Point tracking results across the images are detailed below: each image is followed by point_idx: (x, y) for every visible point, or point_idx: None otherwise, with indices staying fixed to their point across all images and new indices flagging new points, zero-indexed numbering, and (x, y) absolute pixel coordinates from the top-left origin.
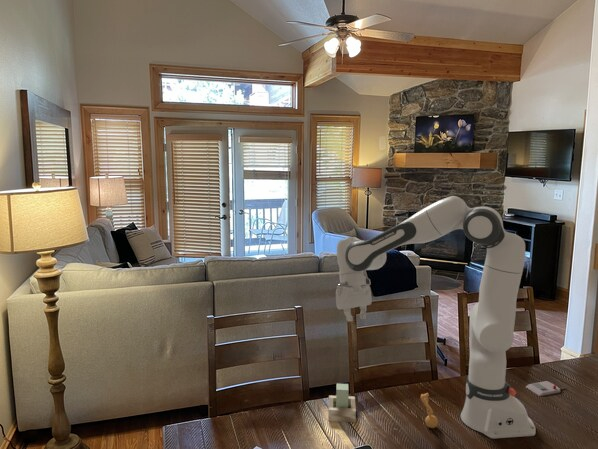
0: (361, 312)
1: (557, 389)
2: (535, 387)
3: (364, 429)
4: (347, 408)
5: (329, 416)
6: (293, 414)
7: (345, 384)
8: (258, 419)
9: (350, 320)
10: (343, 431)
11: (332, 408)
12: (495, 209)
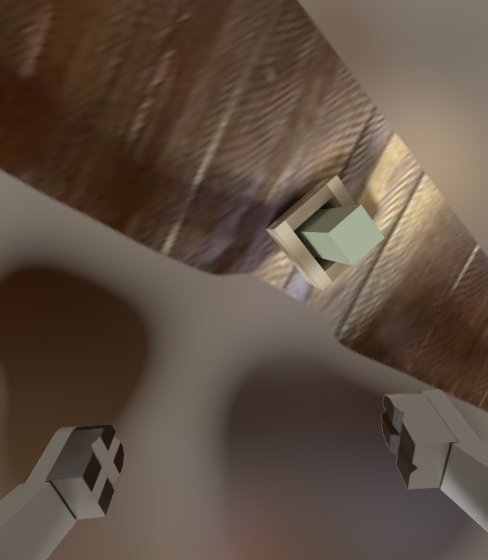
0: (53, 533)
1: None
2: None
3: (330, 142)
4: (341, 202)
5: None
6: (394, 317)
7: (338, 237)
8: (455, 355)
9: (441, 398)
10: (371, 179)
11: None
12: None
